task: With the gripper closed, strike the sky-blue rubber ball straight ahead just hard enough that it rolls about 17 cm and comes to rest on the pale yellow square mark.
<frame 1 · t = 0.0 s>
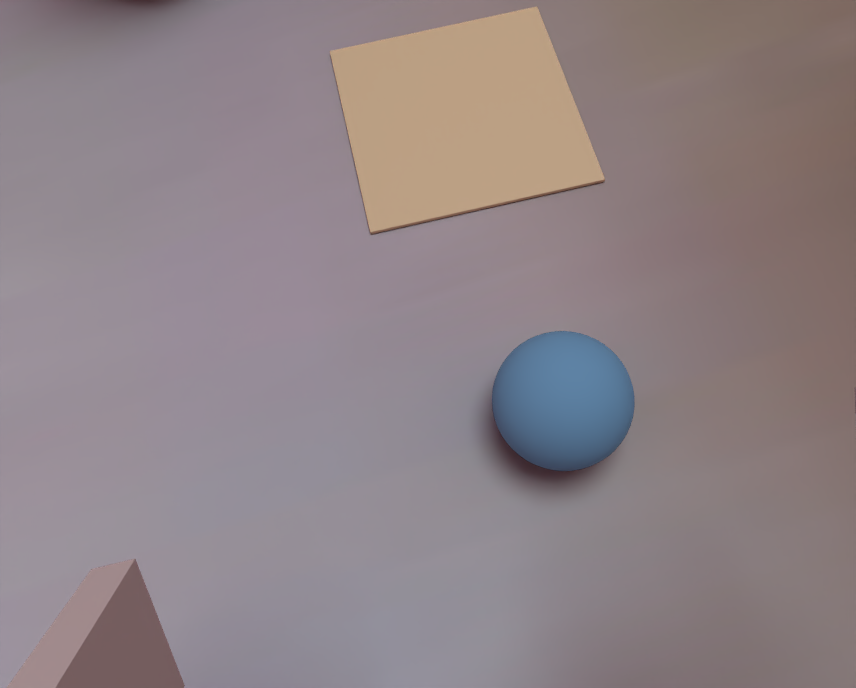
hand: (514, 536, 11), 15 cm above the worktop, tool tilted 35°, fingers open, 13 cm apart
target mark: (459, 114, 34), on the worktop
ball: (561, 400, 25), on the worktop
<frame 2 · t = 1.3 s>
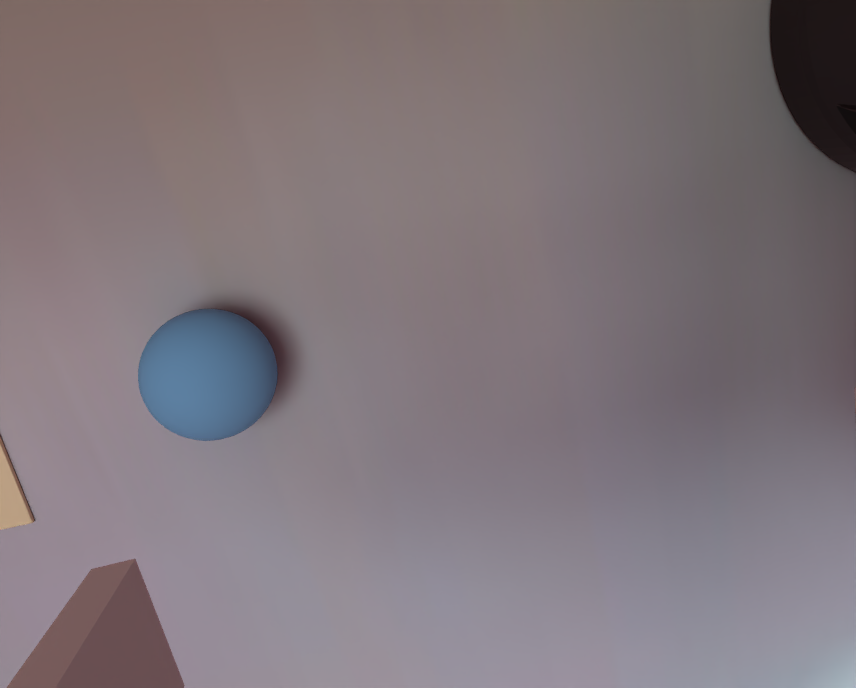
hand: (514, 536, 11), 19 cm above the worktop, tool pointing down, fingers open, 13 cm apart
ball: (210, 374, 26), on the worktop
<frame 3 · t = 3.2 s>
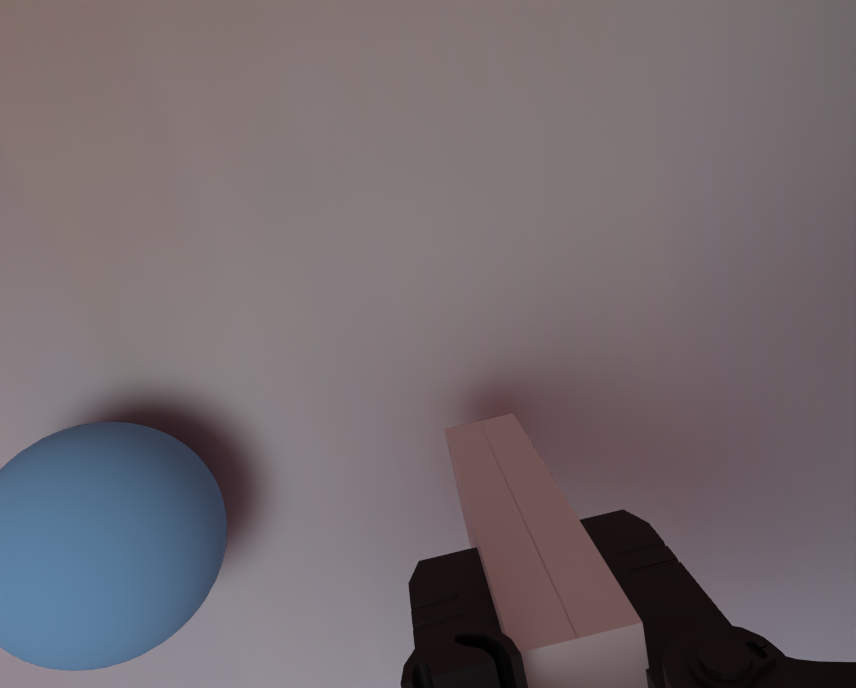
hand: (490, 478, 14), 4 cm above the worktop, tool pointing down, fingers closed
ball: (104, 539, 15), on the worktop
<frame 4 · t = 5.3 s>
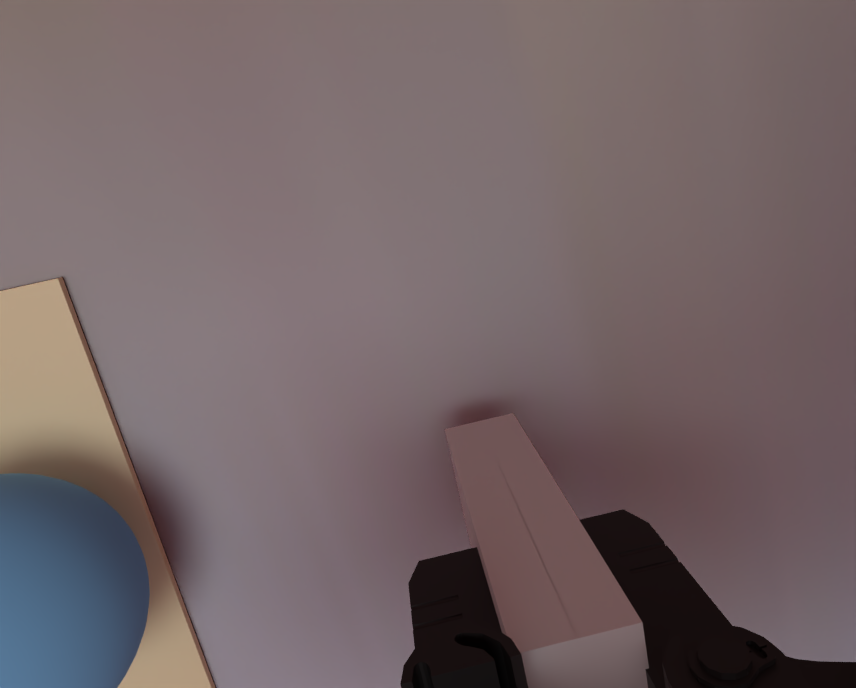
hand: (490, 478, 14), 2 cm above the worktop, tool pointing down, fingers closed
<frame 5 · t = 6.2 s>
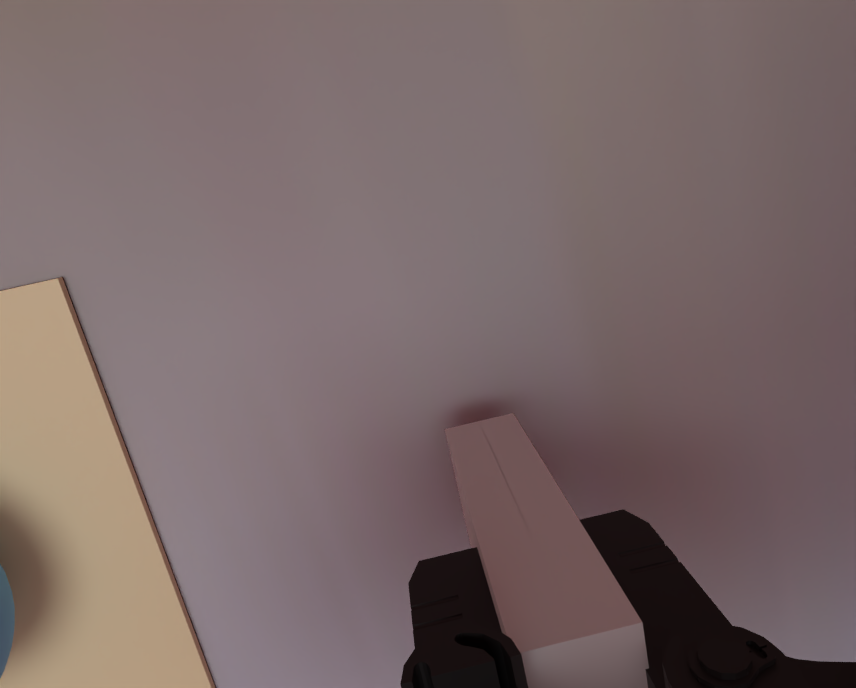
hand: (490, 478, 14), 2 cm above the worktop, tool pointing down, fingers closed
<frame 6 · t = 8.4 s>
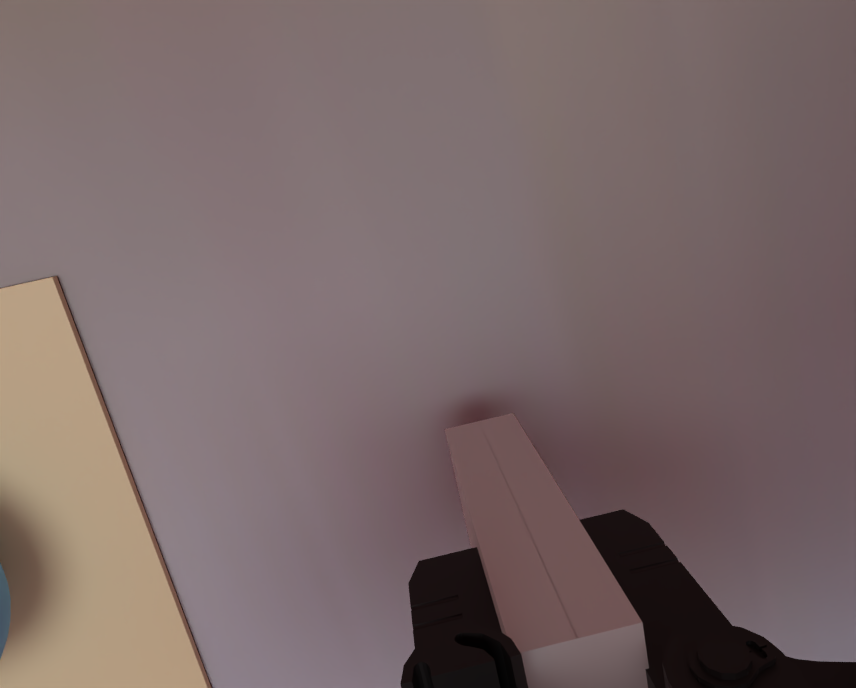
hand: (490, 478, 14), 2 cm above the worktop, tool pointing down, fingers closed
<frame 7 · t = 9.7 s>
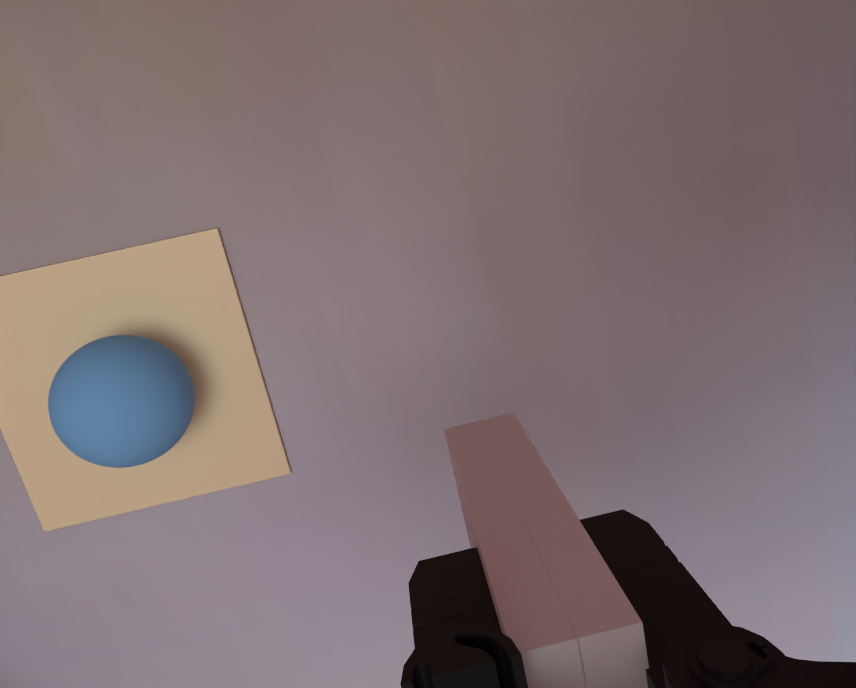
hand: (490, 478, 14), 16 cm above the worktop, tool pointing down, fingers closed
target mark: (128, 385, 29), on the worktop
ball: (124, 400, 26), on the worktop
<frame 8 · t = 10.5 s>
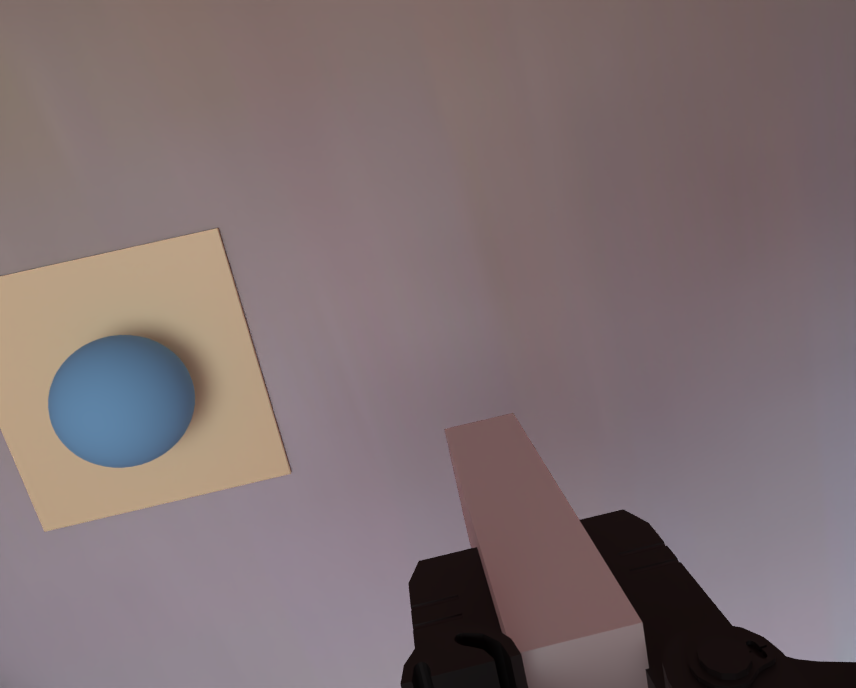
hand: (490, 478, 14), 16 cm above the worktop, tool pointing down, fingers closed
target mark: (128, 385, 29), on the worktop
ball: (124, 400, 26), on the worktop
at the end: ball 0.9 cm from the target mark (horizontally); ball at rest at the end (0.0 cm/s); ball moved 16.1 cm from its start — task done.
